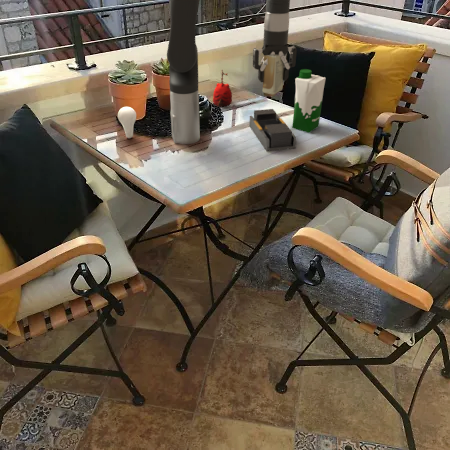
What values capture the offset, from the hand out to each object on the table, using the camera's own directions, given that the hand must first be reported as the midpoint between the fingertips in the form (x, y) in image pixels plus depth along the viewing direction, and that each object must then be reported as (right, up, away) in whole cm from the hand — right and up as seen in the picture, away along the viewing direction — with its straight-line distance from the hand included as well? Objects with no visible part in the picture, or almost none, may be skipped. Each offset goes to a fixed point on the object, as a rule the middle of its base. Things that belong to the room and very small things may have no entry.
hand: (273, 80), depth 155 cm
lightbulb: (-49, -17, +9) cm, 52 cm away
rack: (0, -17, +10) cm, 19 cm away
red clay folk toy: (-17, 0, +34) cm, 38 cm away
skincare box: (0, -3, +2) cm, 4 cm away
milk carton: (+13, -12, +17) cm, 25 cm away
